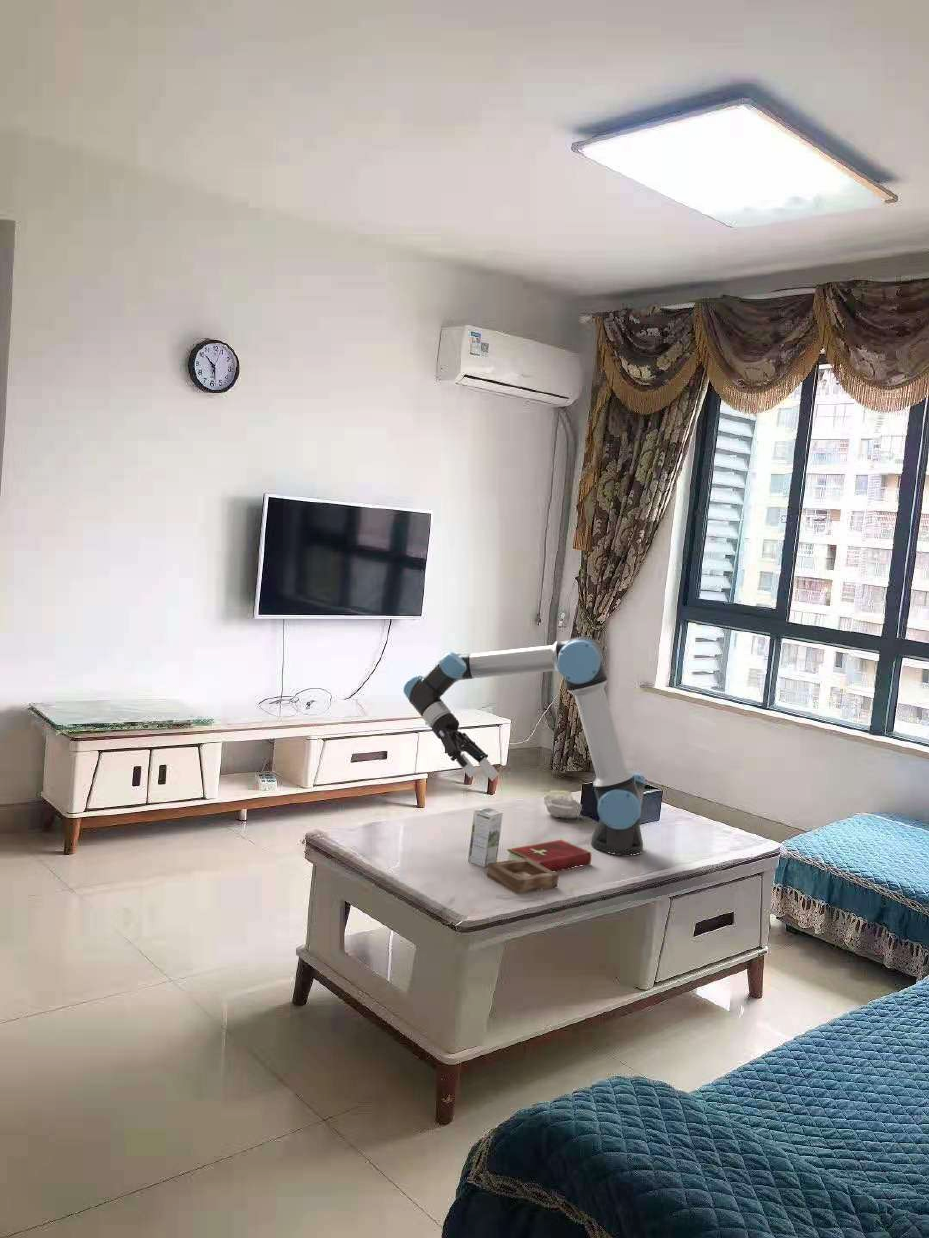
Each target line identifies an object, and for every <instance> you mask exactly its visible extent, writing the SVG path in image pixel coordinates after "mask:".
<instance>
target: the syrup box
mask: <svg viewBox="0 0 929 1238" xmlns="http://www.w3.org/2000/svg"><path fill="white" fill-rule="evenodd" d="M502 822H503V812H502V811H500V810H498V809H495V808H491V807H486V806H485V807H483V808H480V809H476V810H474V811H473V818H472V827H471V834H470V840H469V841H470V843H469V851H468V859H467V861H468V863H471V864H474V865H476V866H480V867H483V868H488V863H494V862H498V861H497V860H498V853H499V852H498V851H499V846H500V845H499V844H500V836H501V831H502V830H501V829H502Z"/></svg>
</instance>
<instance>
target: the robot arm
mask: <svg viewBox="0 0 929 1238" xmlns="http://www.w3.org/2000/svg"><path fill="white" fill-rule="evenodd" d="M604 657H605V656H604V650H603V647H602V645H601V644H600V643H599V642H598V641H597V639H596V640H595V638H593V637H590V636H586V635H585V636H582V635H581V636H577V637H573V638H568V639H562V640H556V641H555V642H554V643H553V644H552V645H551V644H550V645H543V646H542V645H541V646H533V647H522V648H513V649H503V650H496V651H495V650H494V651H493V650H492V651H485V652H475V653H466V654H460V653H457V654H456V653H455V652H452V651H449V652H446V654H445V655H444V656H443V657H441V658H440V659H439V661H438V662H437V663H435V665H434V666H433V667H432V669H430V671H428V672H427V674H426V675H425V676H422V675H420V674H419V675H414V676H413V677H412V678H411V679H409V680H407V682H406V683H405V684H404V686H403V693H404V696H405V697H406V698H407V700H408V702H409V703H410V704H411V705H412V706H413V708H414V709H415V710H416V712H417V713H418V714H419V716H421V718H422V719H423V720H424V722H425V723H424V724H425V725H426V726H428V727H429V728H431V731H432V732H433V734H434V735H435V736H436V737H437V738H438V739H439V740H440V741H441V743H442V745H443V747H444V750H445V752H446V754H447V755H448V757H450V760H451V761H452V762H454V761H456V762H457V764H458V765H459V766H460V768H461V769H462V770H463V771H464V773H465V774H466V776H467V777H468V778H469V779H471V778H473V776H474V775H476V773H478V770H477V769H476V768H475V766H474V765H473V764H472V762H471V761H470V759H469V758H468V757H467V756H466V755H465V753H462V751H464V752H466V753H467V754H468V755H469V756H470V757H472V759H474V760H475V761H476V762H478V766H479V767H480V768H481V769H482V770H483V772H484V773H485V774H486V776H487V777H488V778H489V779H490V780H491V781H492V782H494V780H496V779H497V777H499V776H500V774H499V772H498V771H497V770H496V768H495V767H494V766H493V765H492V764H491V762H490V761H489V759H488V757H489V755H488V753H485V751H483V750H482V749H481V747H479V746H478V745H477V744H476V742H474V741H473V740H472V739H470V737H469V736H468V734H467V733H466V732H461V731H459V729H458V728H459V726H460V721H459V720H458V719H457V718H456V716H455V715H454V714H453V713H452V711H451V710H450V708H449V707H448V706H447V704H445V702H443V700H442V698H441V697H442V696H443V695H444V694H445V693H446V692H447V691H448V690H449V689H450V688H451V687H452V686H453V685H455V683H456V682H459V681H463V680H465V681H466V680H473V679H482V678H492V677H503V676H514V675H522V674H523V675H524V674H534V673H544V672H554V671H555V672H557V673H558V674H560V675H561V676H562V677H563V681H564V684H565V687H566V691H567V692H568V693H569V694H571V695H573V696H574V700H575V704H576V708H577V711H578V715H579V719H580V722H581V726H582V729H583V733H584V736H585V740H586V744H587V746H588V747H587V748H588V751H589V755H590V759H591V761H592V766H593V768H594V769H593V770H594V773H595V776H596V777H595V779H594V781H593V784H592V785H593V786H592V787H593V789H594V793H595V796H596V801H597V807H596V808H597V814H598V816H599V821H598V823H597V824H596V827H595V829H594V831H593V833H592V836H591V841H590V844H591V846H592V847H593V846H594V847H595V848H594V847H593V848H594V849H596V848H597V849H596V850H598V849H599V850H598V851H600V850H601V851H600V852H602V851H604V852H603V853H606V852H610V853H615V854H620V855H619V856H622V855H631V854H632V855H633V854H637V853H640V852H642V853H643V850H644V849H643V847H644V841H643V837H642V832H641V824H640V823H641V817H642V808H643V800H644V792H645V787H646V778H645V776H644V774H642V773H639V772H634V771H629V770H628V769H627V767H626V764H625V760H624V756H623V753H622V749H621V745H620V743H619V738H618V735H617V731H616V727H615V724H614V720H613V717H612V713H611V710H610V706H609V702H608V699H607V698H608V697H607V695H606V691H605V686H606V684H607V682H608V677H607V673H606V670H605V667H604Z"/></svg>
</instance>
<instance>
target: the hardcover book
mask: <svg viewBox="0 0 929 1238" xmlns="http://www.w3.org/2000/svg"><path fill="white" fill-rule="evenodd" d="M507 851H508V853H509V854H508V859H507V861H509V860H516V859H524V858H528V859H530V860H532V861H534V862H536V863H538V864H540V865H541V866H543V867H545V868H547V869H549V870H551V871H556V872H560V871H559V870H561V871H563V870H562V869H566V870H569V869H568V868H571V869H573V868H572V867H575V866H580V865H586V866H588V865H587V864H590V865H591V862H592V852H591V851H589V850H588V849H584V848H582V847H579V846H577V845H575V844H572V843H570V842H568V841H565V840H563V839H557V840H551V841H546V842H541V843H534V844H530V845H523V846H518V847H512V848H511V847H510V848H507Z"/></svg>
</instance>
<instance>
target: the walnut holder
mask: <svg viewBox="0 0 929 1238" xmlns="http://www.w3.org/2000/svg"><path fill="white" fill-rule="evenodd" d="M508 860H509V859H508ZM508 860H503V861H497V862H494V863H488V866H487V871H486V872H487V873H486V876H487V878H489V879H491V880H492V881H495V882H496V883H497V884H500V885H501V886H503V887H504V888H506V889H507V890H510V891H511V892H513V893H515V894H517V895H520V894H527V893H532V891H533V892H538V891H537V890H540V891H542V890H541V889H546V890H549V889H557V888H558V884H559V883H558V882H559V876H560V875H559V873H557V872H553V871H551V870H549V869H547V868H545V867H543V866H541V865H540V864H538V863H536V862H534V861H532V860H530V859H528V858H524V859H516V860H509V861H508ZM556 887H557V888H556Z"/></svg>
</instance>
